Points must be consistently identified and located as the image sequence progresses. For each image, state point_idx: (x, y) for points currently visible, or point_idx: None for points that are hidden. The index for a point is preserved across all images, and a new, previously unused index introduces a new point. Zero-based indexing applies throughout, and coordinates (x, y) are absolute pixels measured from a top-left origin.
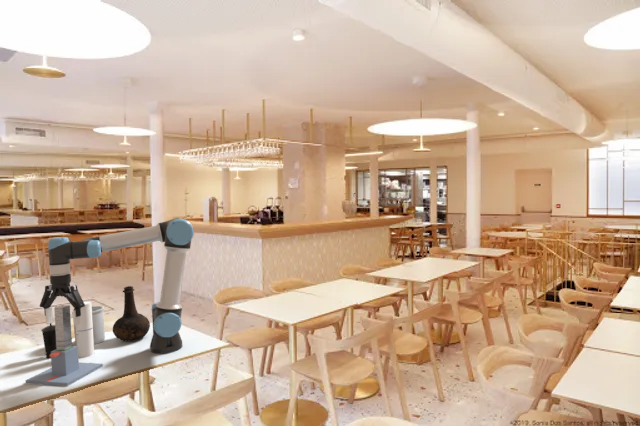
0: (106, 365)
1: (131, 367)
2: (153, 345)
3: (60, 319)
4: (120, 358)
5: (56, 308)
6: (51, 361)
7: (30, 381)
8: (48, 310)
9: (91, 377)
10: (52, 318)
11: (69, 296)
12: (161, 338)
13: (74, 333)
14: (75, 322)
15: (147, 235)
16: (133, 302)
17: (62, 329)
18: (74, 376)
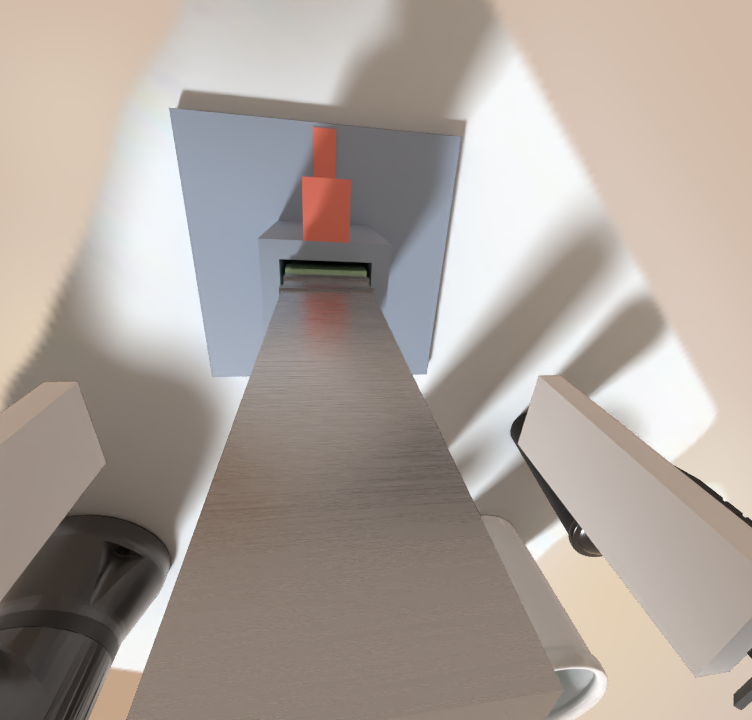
0: (207, 382)
1: (49, 378)
2: (91, 547)
3: (302, 408)
4: (211, 452)
5: (443, 660)
6: (378, 234)
7: (428, 133)
8: (702, 568)
9: (146, 242)
10: (547, 479)
11: None
12: (25, 589)
13: (532, 560)
14: (12, 413)
15: None
16: None
17: (284, 332)
18: (215, 210)
